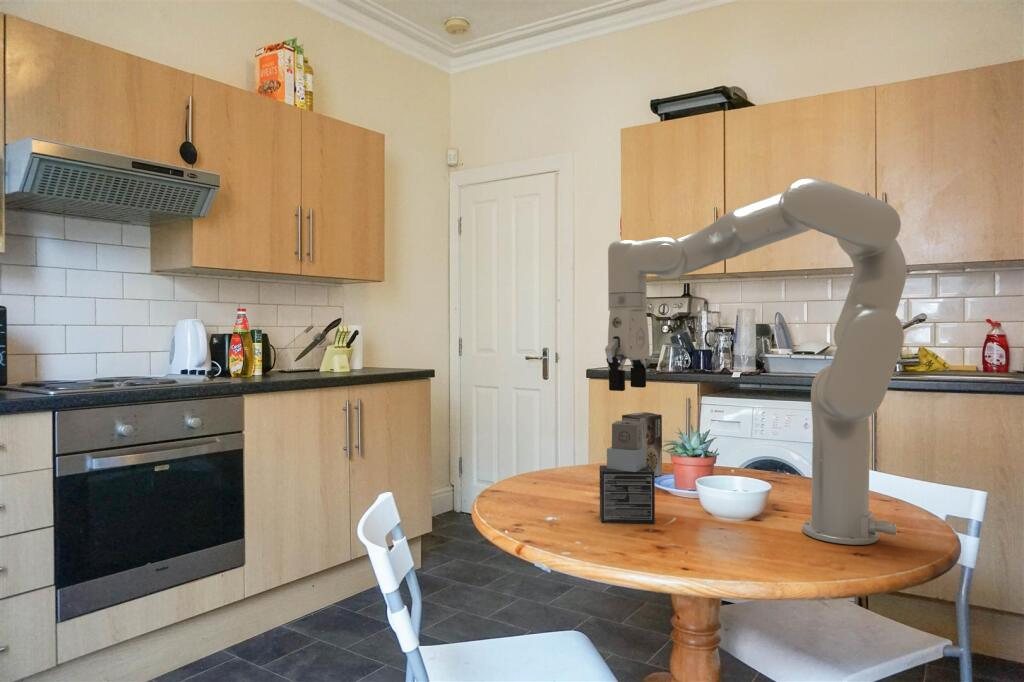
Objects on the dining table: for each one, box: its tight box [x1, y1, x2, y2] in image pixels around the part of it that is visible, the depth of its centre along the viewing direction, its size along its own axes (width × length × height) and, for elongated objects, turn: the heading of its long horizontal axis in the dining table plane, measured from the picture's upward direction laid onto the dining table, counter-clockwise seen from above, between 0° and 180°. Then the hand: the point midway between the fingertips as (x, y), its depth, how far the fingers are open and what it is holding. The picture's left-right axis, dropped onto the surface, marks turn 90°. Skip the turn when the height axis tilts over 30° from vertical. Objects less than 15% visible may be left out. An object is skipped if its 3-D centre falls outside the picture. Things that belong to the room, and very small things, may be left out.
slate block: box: [606, 446, 646, 472], centre depth 135 cm, size 6×6×4 cm
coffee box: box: [621, 411, 663, 477], centre depth 175 cm, size 9×6×16 cm
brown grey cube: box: [611, 420, 642, 450], centre depth 135 cm, size 5×5×5 cm
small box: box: [599, 464, 656, 525], centre depth 135 cm, size 11×6×10 cm, turn 87°
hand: (627, 388), depth 135 cm, fingers open, 9 cm apart
